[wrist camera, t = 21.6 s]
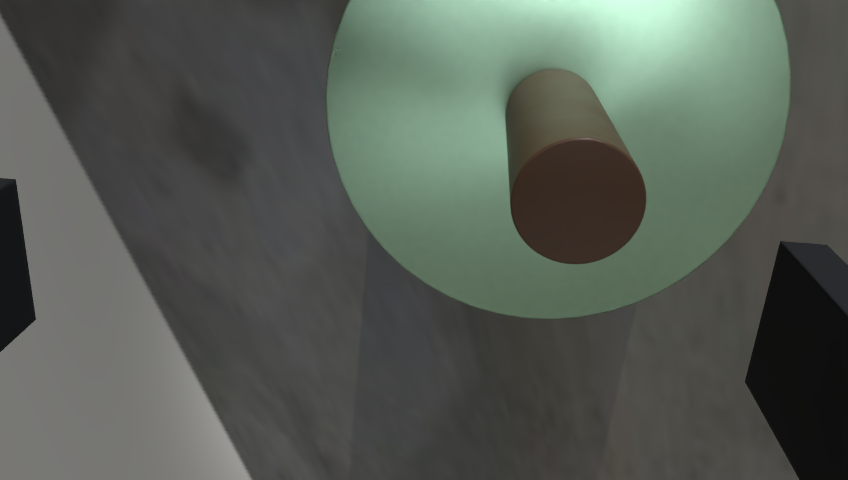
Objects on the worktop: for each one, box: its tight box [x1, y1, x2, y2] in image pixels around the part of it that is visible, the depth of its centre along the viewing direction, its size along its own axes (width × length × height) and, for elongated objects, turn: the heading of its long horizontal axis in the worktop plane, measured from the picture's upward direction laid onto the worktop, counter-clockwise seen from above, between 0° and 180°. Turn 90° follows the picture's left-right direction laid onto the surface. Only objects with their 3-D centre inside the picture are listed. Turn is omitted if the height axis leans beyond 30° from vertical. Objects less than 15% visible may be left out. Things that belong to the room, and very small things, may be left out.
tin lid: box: [326, 0, 792, 319], centre depth 21 cm, size 14×14×9 cm
